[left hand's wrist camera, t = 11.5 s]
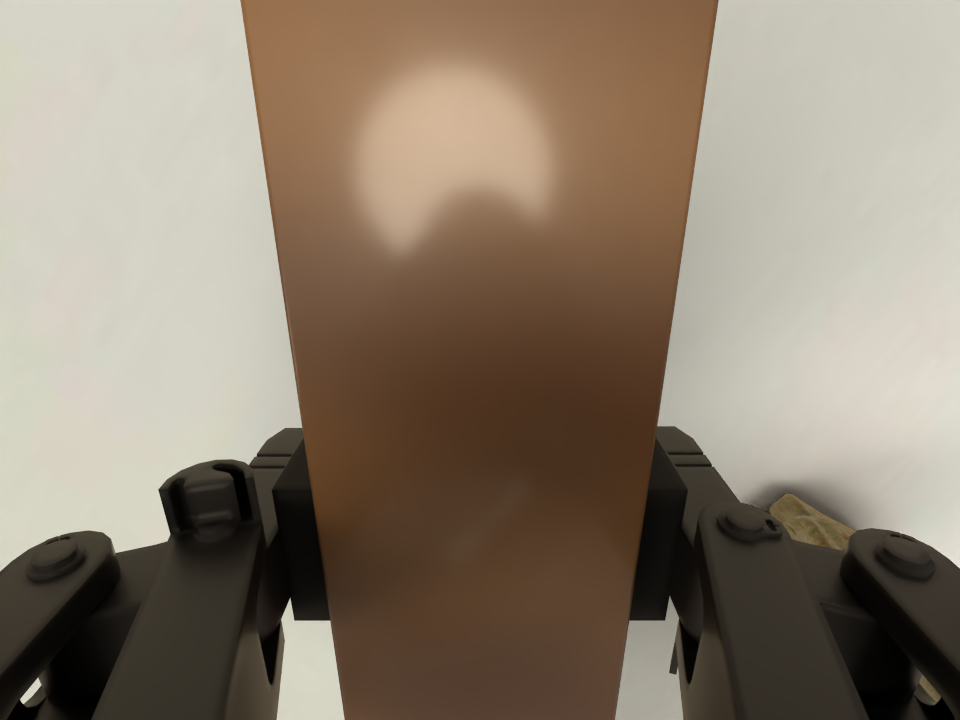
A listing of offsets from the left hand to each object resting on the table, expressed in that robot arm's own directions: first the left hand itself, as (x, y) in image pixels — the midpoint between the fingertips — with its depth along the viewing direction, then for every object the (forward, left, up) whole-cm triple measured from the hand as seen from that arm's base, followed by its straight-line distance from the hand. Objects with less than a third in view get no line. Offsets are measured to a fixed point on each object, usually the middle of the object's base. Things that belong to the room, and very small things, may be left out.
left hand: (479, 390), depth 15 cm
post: (+29, 0, -1) cm, 29 cm away
